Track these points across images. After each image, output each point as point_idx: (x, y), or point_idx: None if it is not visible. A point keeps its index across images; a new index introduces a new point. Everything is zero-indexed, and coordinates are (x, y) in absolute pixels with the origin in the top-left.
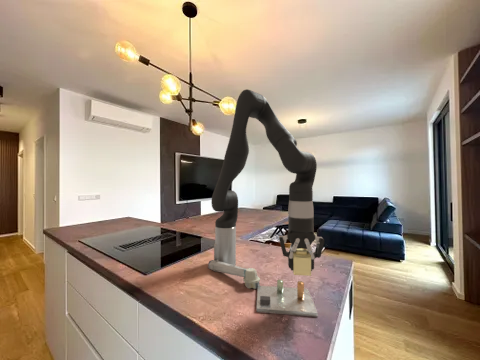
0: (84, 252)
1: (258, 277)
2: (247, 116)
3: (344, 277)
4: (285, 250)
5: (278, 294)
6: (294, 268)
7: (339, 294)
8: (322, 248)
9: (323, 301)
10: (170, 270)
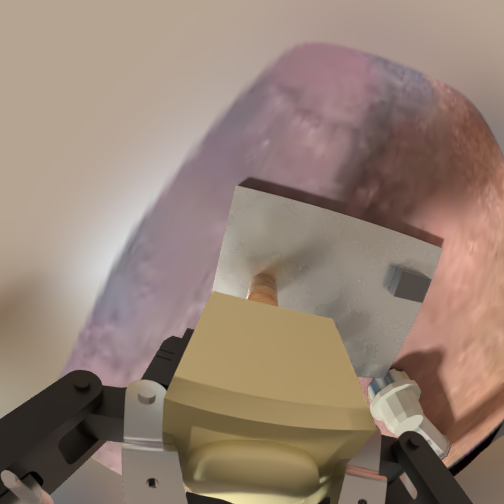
0: None
1: (376, 407)
2: None
3: (66, 373)
4: (420, 470)
5: (340, 324)
6: (339, 343)
7: (101, 301)
8: (10, 413)
9: (170, 273)
10: (499, 415)
